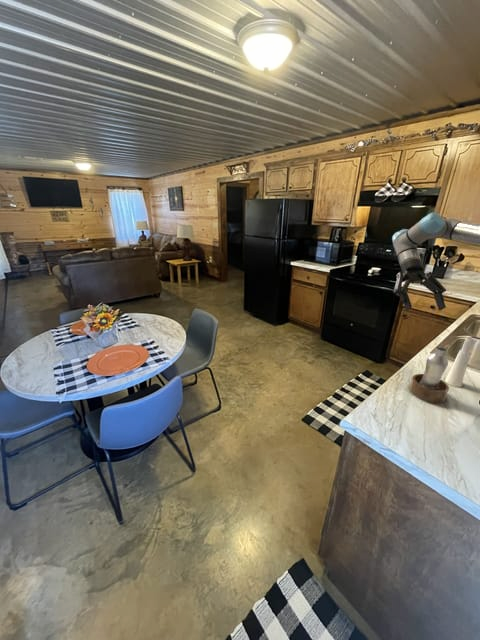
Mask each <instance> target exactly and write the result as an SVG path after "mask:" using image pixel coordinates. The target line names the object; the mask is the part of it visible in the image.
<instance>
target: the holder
mask: <svg viewBox="0 0 480 640" xmlns="http://www.w3.org/2000/svg"><path fill="white" fill-rule="evenodd" d="M423 375H424V373H416V374H414V375H413V376H412V379H411V381H410V385H409V392H410V393H411V394H412V395H413V396H415V397H416V398H417V399H420V400H421V401H424V402H426V403H430V404H442V403H444V402H445V400H446V398H447V395H448V392H449V390H450V386H449V384H448V383H446V382H445V380H442V378H441V379H440V383H439V390H432V389H429V388H426V387H424V386H422V385H420V384H419V382H420V381H421V379H422V377H423Z"/></svg>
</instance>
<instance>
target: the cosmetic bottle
mask: <svg viewBox="0 0 480 640" xmlns="http://www.w3.org/2000/svg"><path fill="white" fill-rule="evenodd" d="M474 341H475V338H473V337H468V336H467V337H466V339H465V340H464V342H463V344H462V347H461V349H460V350H459V351H458V353H457V355H456V357H455V360H454V362H453V364H452V366H451V369H450V371H449V372H448V375H447V376H446V378H445V379H444V382H445V383H446V384H447V385H450V386H452V387H456V388H462V387H463V381H464V377H465V374H466V371H467V369H468V368H467V367H468V366H469V361H470V358H471V355H472V353H471V351H472V349H473V346H474V345H475V344H474V343H475V342H474Z"/></svg>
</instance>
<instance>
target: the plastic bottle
mask: <svg viewBox="0 0 480 640" xmlns="http://www.w3.org/2000/svg"><path fill="white" fill-rule="evenodd" d="M448 352H449V351H448V349H447V348H445V347H442V346H436V347H434V351H433V353H432V354H430V355H429V356H428V357H427V358H426V364H425V369H424V373H423V374H424V375H423V377H422V379H421V381H420V382H419V384H420V385H422V386H424V387H426V388H429V389H432V390H439V383H440V379H441V380H442V377H443V374H444V373H445V371H446V370H447V368H448V366H449V360H448V358H447V356H448Z"/></svg>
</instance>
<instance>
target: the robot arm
mask: <svg viewBox="0 0 480 640" xmlns="http://www.w3.org/2000/svg"><path fill="white" fill-rule="evenodd" d="M428 239H429V240H430V239H443V240H448V241H451V242H452V241H453V242H457V243H461V244H466V245H471V246H474V247H478V248H480V223H474V222H468V221H461V220H459V219H455V218H449V219H448V218H447V219H445V218H444V217H443V216H442V215H441V214H439V213H437V212H430V213H429V214H427V215H426V216H424V217H422V218H421V220H419V221H418V222H416V223H415V224H414V225H413V226H411V228H408V229H407V228H402V229H401V230H399V231H396V232H395V233H394V234H393V235H392V237H391V240H392V247H393V249H394V251H395V253H396V257H397V260H398V263H399V266H400V271H399V272H398V273H397V274H396V282H395V285H394V288H393V289H394V290H393V294H394V295H396V296H397V297H399V298H400V301H401V302H402V304H403V307H404V310H405V311H410V310H411V309H412V308H413V306H412V302H411V300H410V297H409V293H408V292H406V291H407V290H408V289H409V286H410V285H411V284H412V285H413V284H416V285H418V284H419V285H420V286H424V287H425V288H426V289H427V290H429V292H431V293H433V294H434V295H433V298H434V301H435V304H436V306H437V310H438V311H443V310H445V309H446V308H447V306H446V303H445V298H444V295H443V293H446V292H447V289H446V287H444V286H443V285H442V283H441V282H440V281H439V280H438V279H437V278H436V276H434V274H433V272H432V271H428V272H425V271H424V264H423V261H422V260H421V256H420V254H419V251H418V248H417V247H418V246H420V245H422V243H424V242H426V241H427V240H428ZM404 279H405V281H404ZM403 281H404V284H403Z"/></svg>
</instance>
